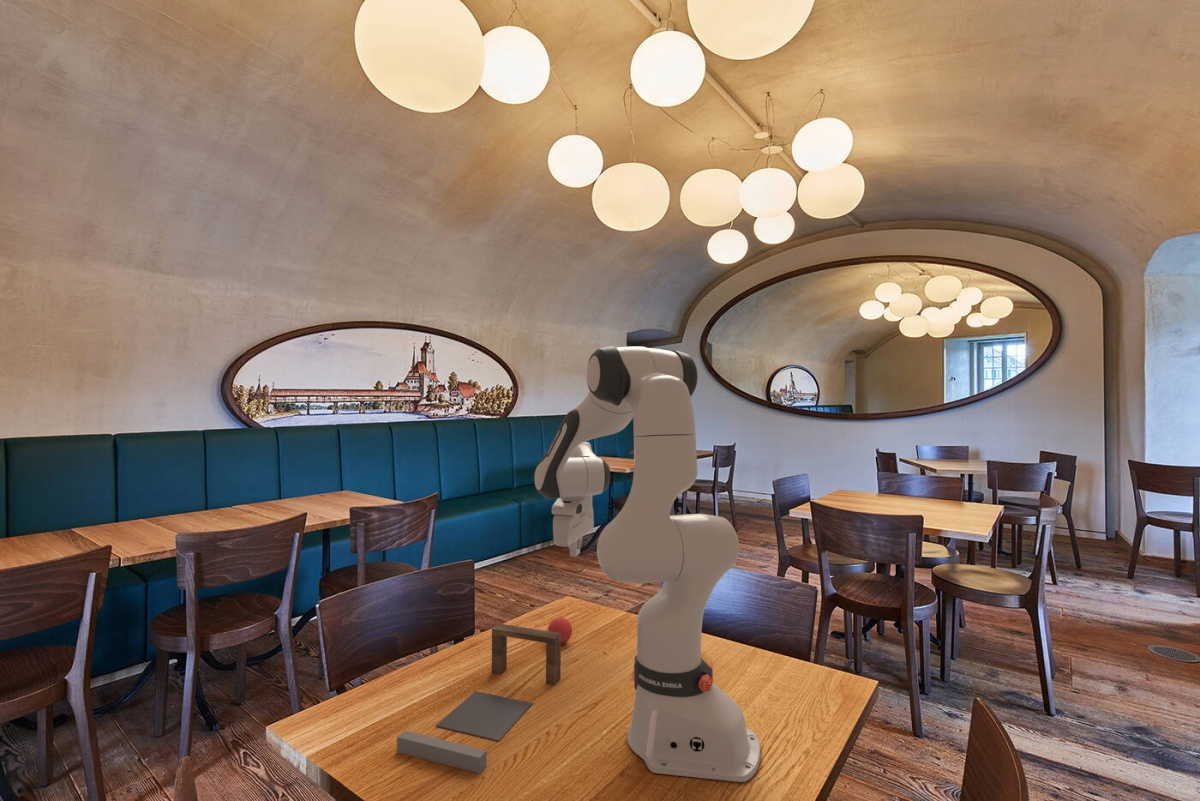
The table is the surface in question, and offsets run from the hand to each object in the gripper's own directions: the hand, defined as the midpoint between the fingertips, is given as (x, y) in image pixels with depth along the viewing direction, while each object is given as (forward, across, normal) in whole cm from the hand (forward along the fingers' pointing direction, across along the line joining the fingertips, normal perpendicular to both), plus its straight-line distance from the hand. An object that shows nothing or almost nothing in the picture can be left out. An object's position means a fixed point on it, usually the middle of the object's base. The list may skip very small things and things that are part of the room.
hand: (574, 555), depth 146 cm
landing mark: (+19, +44, -1) cm, 48 cm away
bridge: (+19, +28, 0) cm, 34 cm away
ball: (+16, +10, 0) cm, 19 cm away
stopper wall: (+19, +58, -1) cm, 61 cm away
